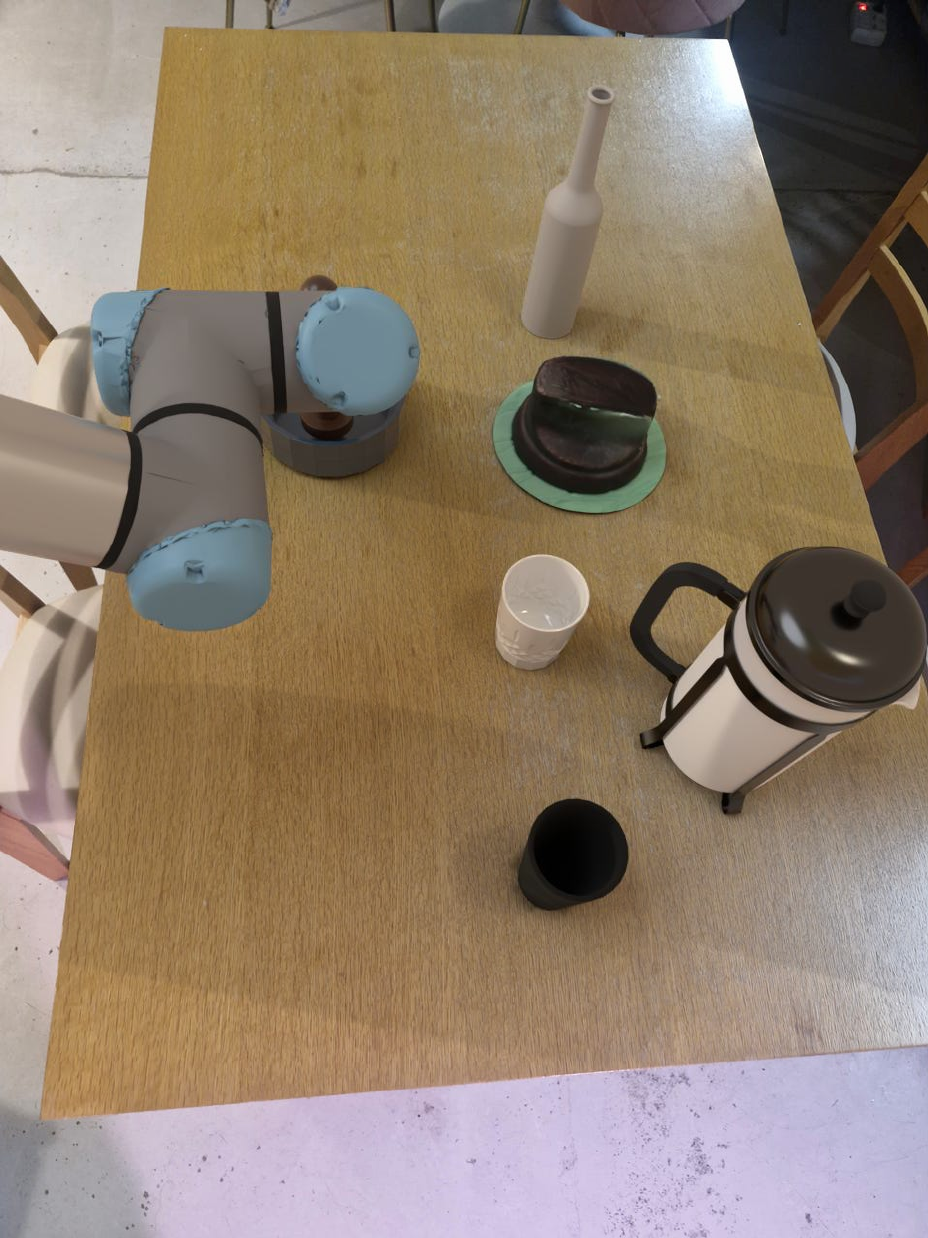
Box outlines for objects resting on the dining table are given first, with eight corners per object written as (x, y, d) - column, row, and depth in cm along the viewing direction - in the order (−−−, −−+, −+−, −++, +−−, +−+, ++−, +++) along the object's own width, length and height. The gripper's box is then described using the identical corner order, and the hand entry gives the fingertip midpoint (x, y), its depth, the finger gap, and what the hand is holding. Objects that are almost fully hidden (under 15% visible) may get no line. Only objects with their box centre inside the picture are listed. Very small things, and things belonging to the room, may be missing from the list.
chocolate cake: (658, 369, 102) (692, 510, 93) (513, 418, 108) (532, 555, 99) (630, 282, 89) (665, 437, 81) (467, 343, 95) (484, 493, 87)
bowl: (252, 479, 90) (245, 443, 85) (261, 364, 97) (255, 324, 92) (405, 482, 92) (407, 447, 87) (403, 368, 99) (405, 330, 94)
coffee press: (772, 661, 86) (950, 485, 60) (801, 818, 79) (1019, 698, 52) (605, 654, 85) (711, 472, 58) (619, 814, 77) (747, 689, 51)
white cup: (531, 591, 87) (548, 539, 78) (583, 647, 85) (607, 599, 76) (472, 633, 84) (484, 584, 76) (524, 691, 82) (543, 648, 73)
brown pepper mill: (299, 439, 89) (284, 301, 72) (301, 398, 91) (287, 255, 75) (353, 441, 89) (350, 304, 73) (354, 399, 92) (351, 259, 76)
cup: (532, 817, 77) (558, 779, 66) (606, 863, 75) (645, 831, 65) (489, 892, 73) (509, 865, 63) (567, 941, 72) (601, 922, 61)
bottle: (578, 337, 104) (643, 114, 79) (526, 340, 103) (575, 114, 78) (567, 298, 107) (626, 71, 82) (516, 300, 106) (560, 70, 81)
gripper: (242, 412, 64) (245, 395, 86) (446, 391, 67) (399, 379, 89) (225, 307, 62) (233, 317, 84) (437, 290, 65) (392, 303, 87)
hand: (319, 349), depth 86 cm, fingers closed on brown pepper mill, 3 cm apart
